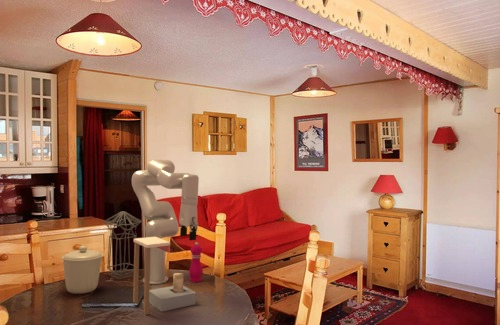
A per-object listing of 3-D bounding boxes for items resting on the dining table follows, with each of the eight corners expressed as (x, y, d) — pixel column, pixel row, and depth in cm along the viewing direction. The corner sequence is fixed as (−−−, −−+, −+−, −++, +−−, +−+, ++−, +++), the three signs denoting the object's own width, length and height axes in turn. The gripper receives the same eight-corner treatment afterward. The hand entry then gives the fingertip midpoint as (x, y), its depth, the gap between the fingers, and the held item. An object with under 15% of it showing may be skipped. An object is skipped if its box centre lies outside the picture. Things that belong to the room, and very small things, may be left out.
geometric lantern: (143, 276, 211) (143, 211, 211) (115, 283, 200) (116, 214, 199) (127, 270, 222) (128, 208, 221) (101, 276, 211) (101, 211, 210)
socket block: (147, 301, 173) (148, 290, 173) (180, 295, 183) (181, 284, 183) (161, 311, 162) (161, 299, 162) (195, 304, 171) (195, 292, 171)
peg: (171, 301, 174) (171, 274, 175) (180, 299, 177) (180, 272, 177) (175, 304, 171) (176, 276, 171) (184, 302, 174) (185, 274, 174)
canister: (60, 298, 174) (61, 251, 174) (61, 287, 191) (62, 243, 191) (103, 294, 181) (104, 248, 182) (101, 283, 198) (102, 241, 198)
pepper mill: (200, 283, 202) (200, 243, 202) (186, 281, 204) (187, 243, 204) (204, 279, 209) (205, 241, 209) (191, 277, 211) (192, 240, 211)
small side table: (131, 304, 169) (133, 238, 169) (153, 300, 175) (155, 236, 175) (145, 315, 157) (146, 244, 157) (168, 310, 163) (170, 242, 163)
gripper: (174, 199, 187) (172, 234, 188) (190, 203, 173) (188, 242, 173) (188, 198, 192) (187, 233, 192) (205, 203, 177) (203, 241, 178)
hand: (187, 237), depth 183 cm, fingers open, 9 cm apart
